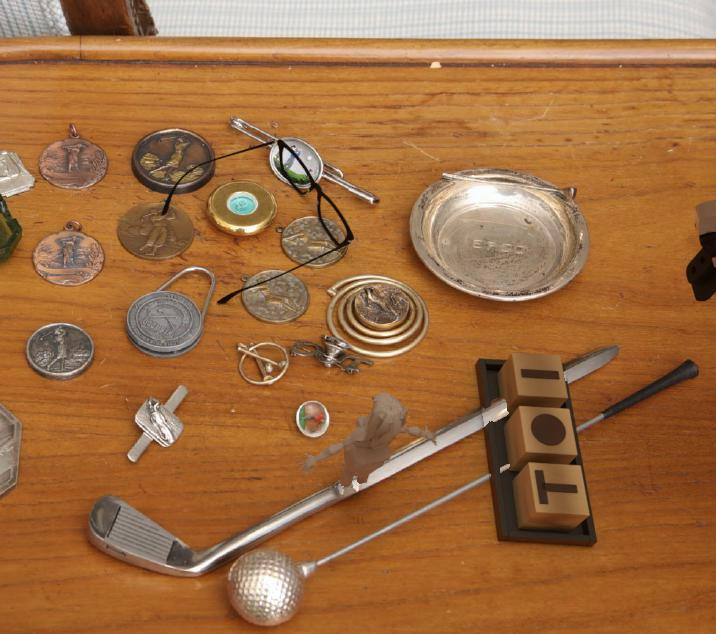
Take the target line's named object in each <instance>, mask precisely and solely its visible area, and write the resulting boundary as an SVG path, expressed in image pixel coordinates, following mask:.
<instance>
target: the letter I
mask: <svg viewBox="0 0 716 634" xmlns="http://www.w3.org/2000/svg"><path fill="white" fill-rule="evenodd" d="M505 360H506V362H505V363H504V365H503V366H502V368H501V369H500V371H499V372H498V374H497V379H498V386H499V393H500V398H504V399H505V400H506V403H507V411H508V412H509V414H508V415H507V416H508V417H511V416H512V415H513V413H514V412H515V411H516V409H517V408H518V407H519V406H530V407H546V408H560V407H561V406H562V405H563V403H564V402H565V401H566V400H567V399H568V395H567V389H566V384H565V378H564V373H563V367H562V363H563V362H562V356H561V355H560V354H551V353H549V354H548V353H532V352H516V351H515V352H512V351H511V353H510V354H509V355H508V357H507V358H506V359H505Z"/></svg>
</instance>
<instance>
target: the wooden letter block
mask: <svg viewBox="0 0 716 634" xmlns="http://www.w3.org/2000/svg"><path fill="white" fill-rule="evenodd" d="M512 487H513V494H514V501H515V508H516V515H517V522H518V529H525V530H541V531H557V532H570V531H572V530H573V529H574V528H575V527H576V526H577V525H579V524H580V523H581V522H582V521H583V520H585V519H586V518H587V517H588V516H589V515H590V514H589V509H588V503H587V498H586V492H585V487H584V482H583V476H582V471H581V466H579V465H563V464H547V463H530V462H529V463H528V464H527V465H526V466H525V467H524V468H523V469H522V470H521V472H520V473H519V474H518V475H517V476H516V477H515V478H514V479H513V481H512Z"/></svg>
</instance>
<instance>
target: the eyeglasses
mask: <svg viewBox="0 0 716 634" xmlns="http://www.w3.org/2000/svg"><path fill="white" fill-rule="evenodd" d="M271 145H277V147H278V160H279V167H280V170H281V172H282V174H285V175H284V176H285V177H286V179H287V181H288V182H289V183H290V184H291V186H292V187H293V188H294V189H295V190H296V191H297V192H298V193H299V194H300V195H301V196H304V195H305V196H307V197H308V196H309V194H310V193H311V192H312V191H313V190H315V191H316V199H314V200H313V204H312V205H313V207H314V208H316V210H317V217H318V220H319V222H320V224H321V225H322V227H323V229H324V231H325V232H326V234H327V235H328V237H330V240H332V241H333V243H334V245H336V247H334V248H332V249H331V250H328V251H327V252H324V253H322V254H319V255H318V256H316V257H314V258H312V259H310V260H307V261H306V262H303V263H301V264H299V265H297V266H295V267H292V268H291V269H288V270H287V271H284V272H282V273H280V274H278V275H276V276H273V277H271V278H270V277H269V278H268V279H266V280H263V281H260V282H256V283H254V284H252V285H249V286H246V287H243V288H239V289H237V290H235V291H233V292H230V293H228V294H227V295H225V296H223V297H222V298H220V299H218V300H217V301H216V304H221V305H223V304H226V303H228V302H229V301H230V300H231V299H234V297H236V296H237V295H239V294H241V293H242V292H245V291H247V290H249V289H252V288H255V287H258V286H260V285H264V284H265V283H267V282H270V281H272V280H276V279H278V278H280V277H282V276H285V275H287V274H288V273H292V272H293V271H294V270H297V269H300V268H302V267H304V266H306V265H308V264H310V263H312V262H314V261H317V260H319V259H321V258H323V257H325V256H327V255H329V254H331V253H333V252H336V251H338V250H341V249H342V248H344V247H347V246H349V245H350V244H352V243H353V242H355V235H354V233H353V231H352V229H351V228H350V226H349V224H348V222H347V220H346V217H344V215H343V214H342V212H341V210H340V209H339V208H338V206H337V204H335V202H334V201H333V200H332V199H331V198H330V197H329V195H327V194H326V193H325V192H324V191H323V189H322V187H321V185H320V184H319V183H317V182H316V181H315V179H314V178H313V175H312V174H311V172H310V170H309V169H308V167H307V166H306V164H305V163H304V161H303V160H302V159H301V157H300V156H299V155H298V154H297V153H296V151H295V150H293V148H292V147H291V146H290V145H288V144H287V143H286V141H284V140H283V139H282V138H280V139H279V138H278V139H274V140H271V141H268V142H264V143H261V144H258V145H254V146H251V147H248V148H245V149H242V150H241V149H240V150H238V151H235V152H231V153H228V154H225V155H222V156H219V157H216V158H213V159H209V160H207V161H204V162H201V163H200V164H197V165H195V166H194V167H192V168H191V169H189V170H188V171H186V172H185V173H183V175H181V177H179V179H178V180H177V181H176V182H175V184H174V186H173V187H171V190H170V192H169V193H168V195H167V198H166V200H165V202H164V205H163V208H162V210H161V215H162V216H163V215H165V214H166V213H168V210H169V207H170V205H171V201H172V199H173V196H174V194H175V191H176V188H177V187H178V186H179V184H180V183H181V182H182V180H183V179H184V178H185V177H186V176H188V174H190V173H191V172H193V171H194V170H196V169H197V168H199V167H201V166H205V165H206V164H209V163H212V162H216V161H218V160H222V159H225V158H227V157H232V156H235V155H238V154H239V155H240V154H242V153H245V152H249V151H253V150H255V149H260V148H263V147H267V146H271ZM284 150H287V151H288V152H289V153H290V154H291V155H292V157H294V159H295V160H296V161H297V162H298V164H299V165H300V166H301V167H302V169H303V170H304V172H305V174H306V176H307V178H308V180H309V182H310V185H309V188H307V190H306V191H302V190H301V189H300V188H299V187H298V185H296V184H295V182H294V181H293V180H292V178H291V177H290V176H289V174H288V173H287V171H286V169H285V166H284V159H283V157H284V156H283V155H284ZM284 169H285V170H284ZM287 176H289V177H290V178H291V179H290V178H289V177H287ZM322 198H323V199H324V200H325V201H326V202H327V203H328V204H329V205H330V206H331V208H333V210H334V211H335V213H336V214H337V216H338V218H339V219H340V221H341V222H342V224H343V226H344V228H345V231H346V236H345V238H344V239H343V241H341V242H339V241H338V240H337V239H336V238H335V236H334V235H333V234H332V233H331V231H330V229H329V228H328V227H327V225H326V223H325V221H324V218H323V217H322V210H321V203H322Z"/></svg>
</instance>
